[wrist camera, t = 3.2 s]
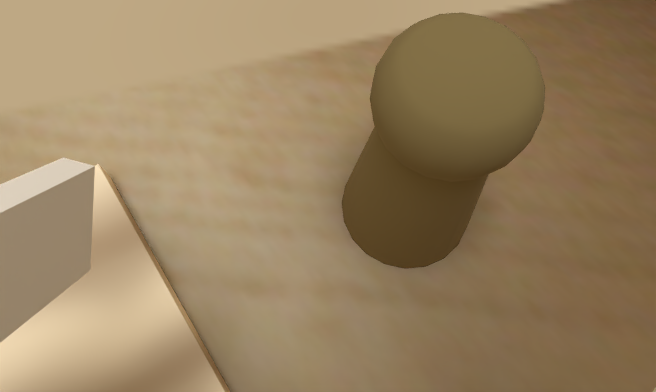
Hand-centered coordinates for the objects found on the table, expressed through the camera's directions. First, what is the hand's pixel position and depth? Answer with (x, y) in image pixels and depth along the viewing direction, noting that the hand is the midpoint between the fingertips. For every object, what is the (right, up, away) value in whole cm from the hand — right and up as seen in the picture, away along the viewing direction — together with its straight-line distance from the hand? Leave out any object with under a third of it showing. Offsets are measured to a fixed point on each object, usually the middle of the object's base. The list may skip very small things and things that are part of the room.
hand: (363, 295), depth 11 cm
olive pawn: (+3, +2, +13) cm, 14 cm away
